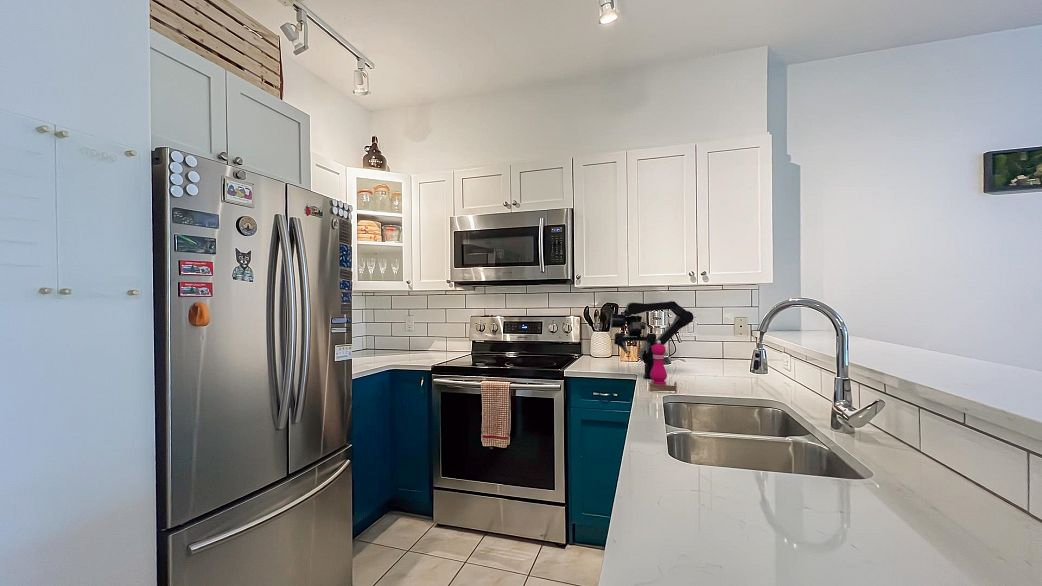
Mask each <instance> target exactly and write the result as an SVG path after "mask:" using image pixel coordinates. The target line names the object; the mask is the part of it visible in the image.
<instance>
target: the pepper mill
mask: <svg viewBox="0 0 1042 586" xmlns="http://www.w3.org/2000/svg"><path fill="white" fill-rule="evenodd" d="M660 343H661V341H659V340H658V341H657V344H655V345H653V346H652V352H653V358H654V364H653V367H652V370H651V372H650V377H651V378H652V379H651V381H652V380H654V384H657V385H667V382H666V380H667V378H668V374H667V373H668V372H667V370H666V368H665V365H664V359H665V353H666V350H667V349H666V347H665V344H664V345H662V344H660Z"/></svg>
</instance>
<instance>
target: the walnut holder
mask: <svg viewBox="0 0 1042 586" xmlns="http://www.w3.org/2000/svg"><path fill="white" fill-rule="evenodd" d="M677 384H678V382H677V381H674V383H673V385H669V384H666V385H657V384H654V380H652V379H651V381H650V383H649V392H650V391H676V392H677V389H678V388H677V386H678V385H677ZM676 388H677V389H676Z"/></svg>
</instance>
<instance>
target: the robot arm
mask: <svg viewBox="0 0 1042 586" xmlns="http://www.w3.org/2000/svg"><path fill="white" fill-rule="evenodd" d="M661 310H662V311H664V310H665V311H666V310H669V311H671V313H673V314H674V315H675V317H674V318H673V321H672V323H671V324H670V325H669V326H668V327H667V328H666V329H665V330H664V331H663V332H662V333H661V334H660V335H659V336H658V337H657V334H656V333H653V332H649V333H647V332H646V336H642V334H643V333H642V330H646V328H647V325H646V321H642V320H643V317H642V316H641V315H639V314H642V313H645V312H653V311H661ZM610 315H611V316H610V320H609V323H610V324H609V325H610V328H614V329H616V328H617V329H623V328H624V327H625V326H626V331H627V335H625V334H624V332H615V333H614V337H613V343H614V345H616V346H619V347H620V348H621V349H622V350H623V352H624V353H625V354H626V355H628V347H627V344H626V341H629V342H630V341H631V342H645V345H644V346H643V347H642V348H640V352H639V359H640V360H642V362H643V364H644V374H643V376H642V377H643V379H647V380H648V379H651V380H652V378H651V377H650V372H651V370H652V367H653V364H654V358H653V352H652V346H653V345H655V344H657V341H658V340H659V341H661V343H660V344H662V345H664V346H665V345H666V344H667V342H668V341H669V340H671V339H672V338H673V337H674V335H676V334H677V333H678V331H680V330H681V329H682V328H684V327H686V326H688V325H690V324H691V322H693V321H694V314H693V312H691V311H690V310H686V309H685V308H683V307H682V306H681V305H679V304H678V303H677V302H676V301H674V300H670V301H663V302H649V303H644V302H643V303H642V302H628V303H627V304H626V306H625V309H624V311H623V312H622V313H620V314H619V313H611V314H610Z"/></svg>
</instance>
